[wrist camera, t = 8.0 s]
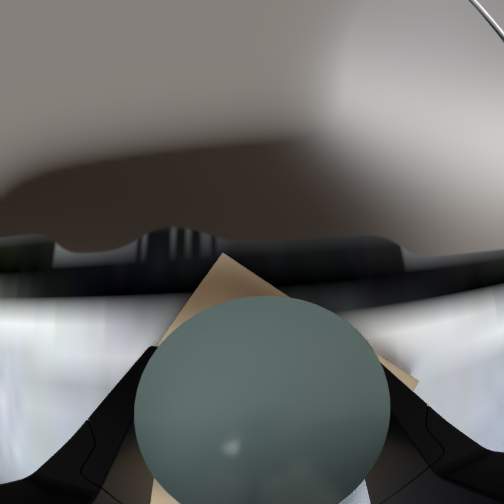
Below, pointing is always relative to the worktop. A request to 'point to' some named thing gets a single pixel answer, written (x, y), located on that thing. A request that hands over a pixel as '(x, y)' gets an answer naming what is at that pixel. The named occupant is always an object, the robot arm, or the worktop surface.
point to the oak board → (225, 289)
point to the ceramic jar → (262, 405)
